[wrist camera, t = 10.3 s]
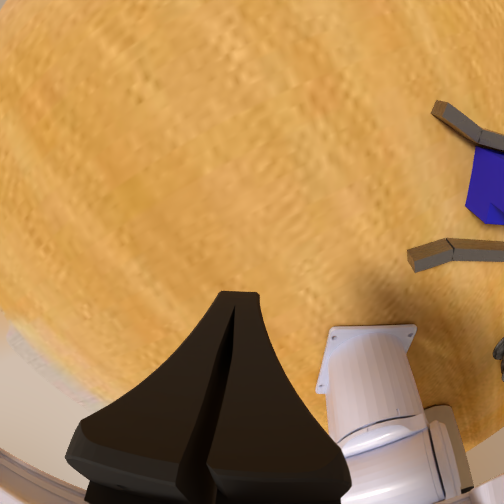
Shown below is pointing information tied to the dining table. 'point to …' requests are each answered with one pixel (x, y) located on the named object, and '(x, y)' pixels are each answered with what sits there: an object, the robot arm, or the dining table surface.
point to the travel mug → (453, 442)
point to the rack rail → (451, 247)
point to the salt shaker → (500, 355)
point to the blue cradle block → (487, 186)
